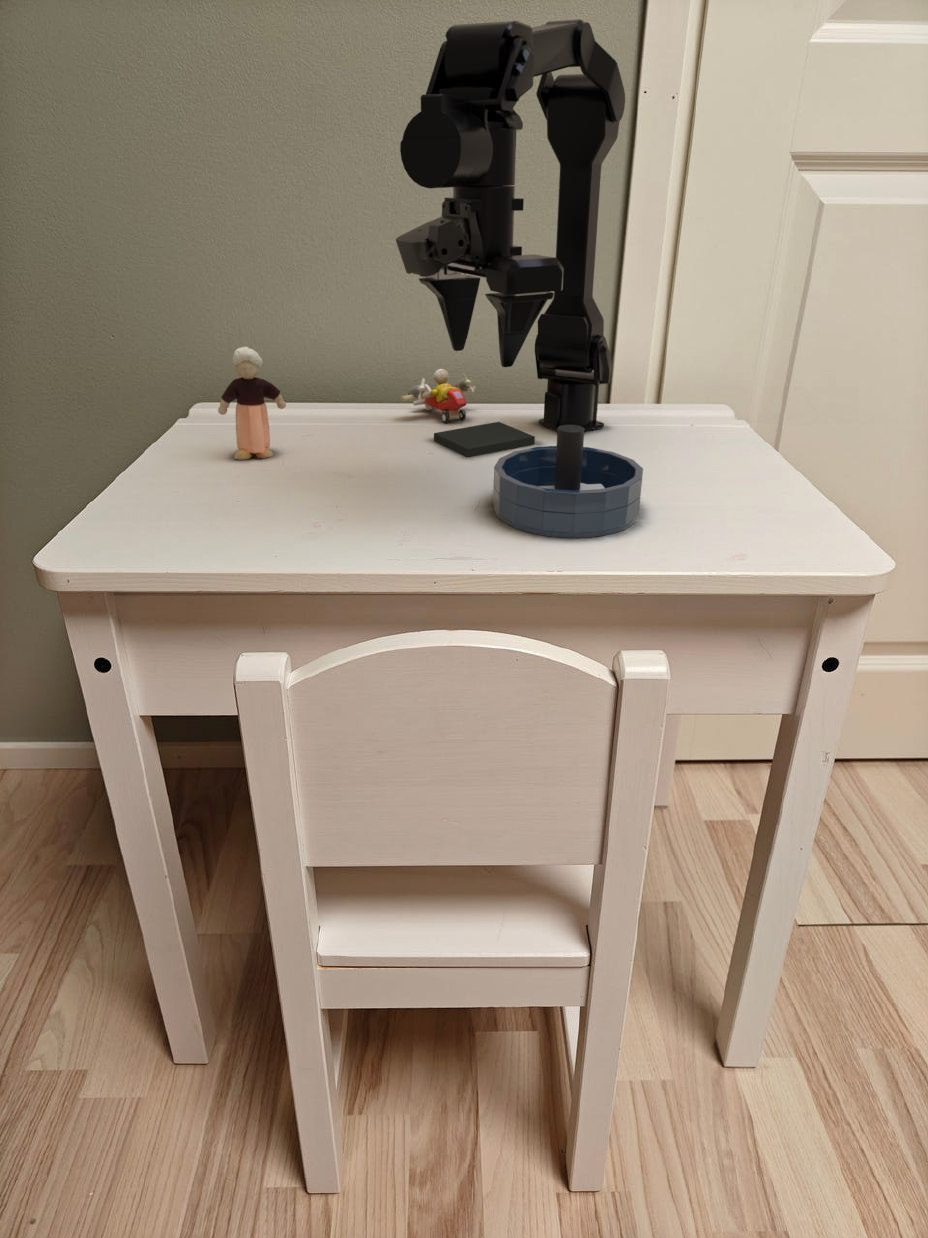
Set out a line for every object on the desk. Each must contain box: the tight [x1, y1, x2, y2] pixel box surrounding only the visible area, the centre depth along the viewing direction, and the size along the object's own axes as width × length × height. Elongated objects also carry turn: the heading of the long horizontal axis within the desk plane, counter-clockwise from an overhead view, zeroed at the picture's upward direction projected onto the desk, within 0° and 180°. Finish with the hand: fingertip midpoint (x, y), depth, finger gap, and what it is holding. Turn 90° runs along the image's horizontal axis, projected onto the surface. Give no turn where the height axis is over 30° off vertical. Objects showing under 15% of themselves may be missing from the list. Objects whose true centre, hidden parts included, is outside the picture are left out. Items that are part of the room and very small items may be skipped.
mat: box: [433, 421, 536, 458], centre depth 108 cm, size 10×8×1 cm
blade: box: [538, 425, 604, 491], centre depth 86 cm, size 8×5×8 cm, turn 123°
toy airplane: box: [400, 368, 477, 423], centre depth 118 cm, size 9×9×6 cm
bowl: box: [492, 445, 644, 539], centre depth 87 cm, size 15×15×4 cm
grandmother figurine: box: [217, 346, 287, 461], centre depth 101 cm, size 8×4×13 cm, turn 117°
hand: (481, 358), depth 87 cm, fingers open, 9 cm apart
